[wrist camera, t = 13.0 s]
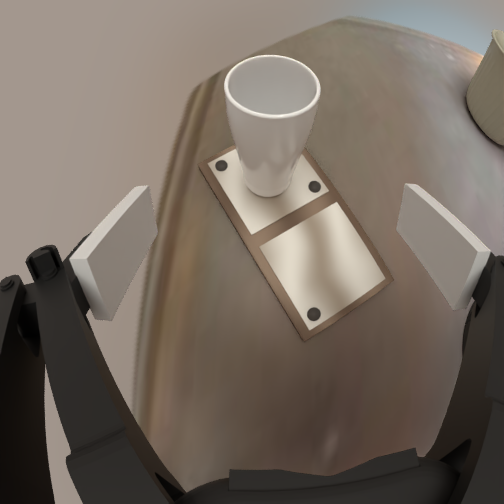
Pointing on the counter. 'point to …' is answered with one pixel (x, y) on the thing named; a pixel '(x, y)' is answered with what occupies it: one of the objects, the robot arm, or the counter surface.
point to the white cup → (270, 118)
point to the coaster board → (301, 241)
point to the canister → (489, 90)
